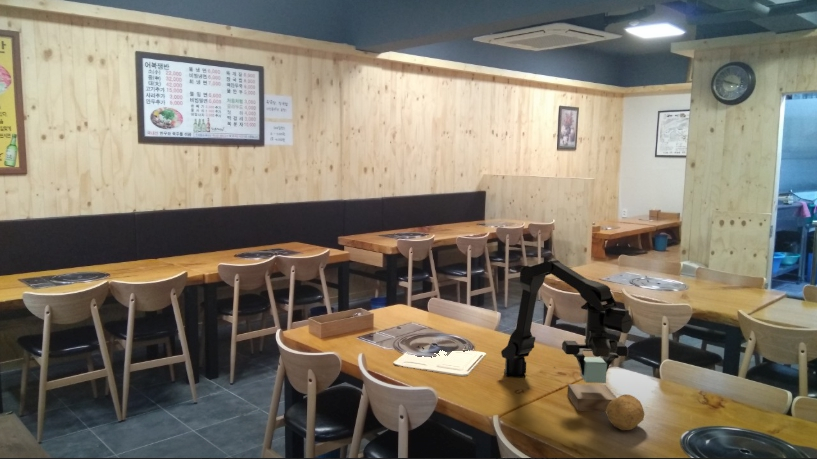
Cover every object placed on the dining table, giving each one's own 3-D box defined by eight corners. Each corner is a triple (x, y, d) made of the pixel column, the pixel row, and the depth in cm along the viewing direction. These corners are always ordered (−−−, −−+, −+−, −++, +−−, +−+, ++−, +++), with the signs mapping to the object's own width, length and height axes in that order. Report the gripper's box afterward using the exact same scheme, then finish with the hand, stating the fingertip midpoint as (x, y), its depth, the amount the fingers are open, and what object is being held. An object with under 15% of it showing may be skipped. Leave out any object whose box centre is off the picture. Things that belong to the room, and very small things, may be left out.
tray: (391, 366, 214) (391, 362, 214) (419, 345, 240) (419, 342, 240) (466, 378, 204) (466, 374, 204) (487, 355, 230) (487, 351, 229)
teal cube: (585, 382, 180) (586, 363, 179) (580, 375, 186) (581, 356, 185) (605, 383, 179) (607, 363, 179) (599, 376, 185) (601, 357, 185)
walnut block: (577, 411, 177) (578, 398, 177) (567, 396, 189) (568, 384, 189) (617, 412, 177) (618, 399, 177) (605, 397, 189) (605, 385, 189)
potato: (598, 431, 163) (599, 403, 162) (613, 414, 175) (614, 388, 174) (634, 441, 158) (636, 412, 157) (648, 423, 169) (649, 396, 168)
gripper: (572, 332, 173) (569, 384, 175) (636, 334, 173) (633, 386, 174) (562, 322, 184) (560, 371, 186) (623, 323, 184) (620, 372, 185)
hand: (593, 375), depth 182 cm, fingers closed on teal cube, 6 cm apart
